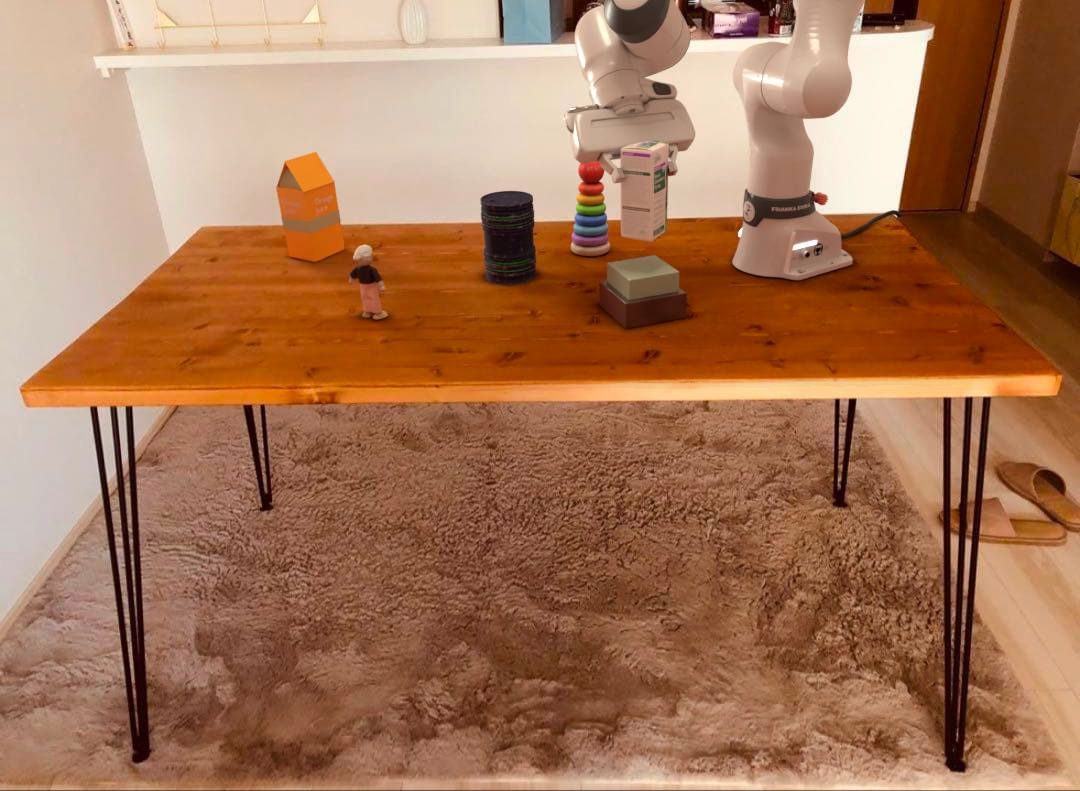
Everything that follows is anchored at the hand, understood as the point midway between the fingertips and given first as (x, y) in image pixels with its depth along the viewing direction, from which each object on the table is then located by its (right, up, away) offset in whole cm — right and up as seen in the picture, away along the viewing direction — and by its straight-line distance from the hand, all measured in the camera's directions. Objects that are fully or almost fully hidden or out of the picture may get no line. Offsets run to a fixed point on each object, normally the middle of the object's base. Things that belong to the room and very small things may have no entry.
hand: (646, 177), depth 133 cm
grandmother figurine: (-46, -20, +15) cm, 52 cm away
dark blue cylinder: (-22, -11, +29) cm, 38 cm away
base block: (+1, -20, +12) cm, 23 cm away
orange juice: (-63, -4, +45) cm, 78 cm away
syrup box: (0, -8, +5) cm, 10 cm away
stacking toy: (-6, -5, +39) cm, 40 cm away
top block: (0, -16, +10) cm, 19 cm away
